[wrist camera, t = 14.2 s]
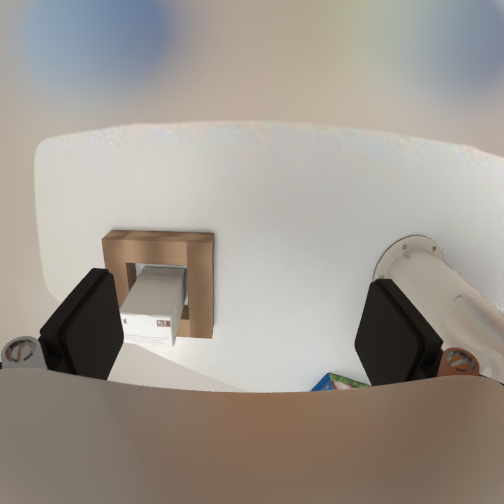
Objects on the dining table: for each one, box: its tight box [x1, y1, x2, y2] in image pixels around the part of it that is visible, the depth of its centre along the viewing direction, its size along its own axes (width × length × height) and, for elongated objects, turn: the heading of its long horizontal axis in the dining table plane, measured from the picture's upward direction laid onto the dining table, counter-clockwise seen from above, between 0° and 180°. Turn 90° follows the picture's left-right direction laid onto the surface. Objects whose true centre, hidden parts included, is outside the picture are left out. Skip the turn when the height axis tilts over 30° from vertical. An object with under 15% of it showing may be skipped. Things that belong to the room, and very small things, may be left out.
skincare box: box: [119, 267, 186, 347], centre depth 36 cm, size 6×4×12 cm
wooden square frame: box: [102, 230, 214, 339], centre depth 40 cm, size 14×14×4 cm
